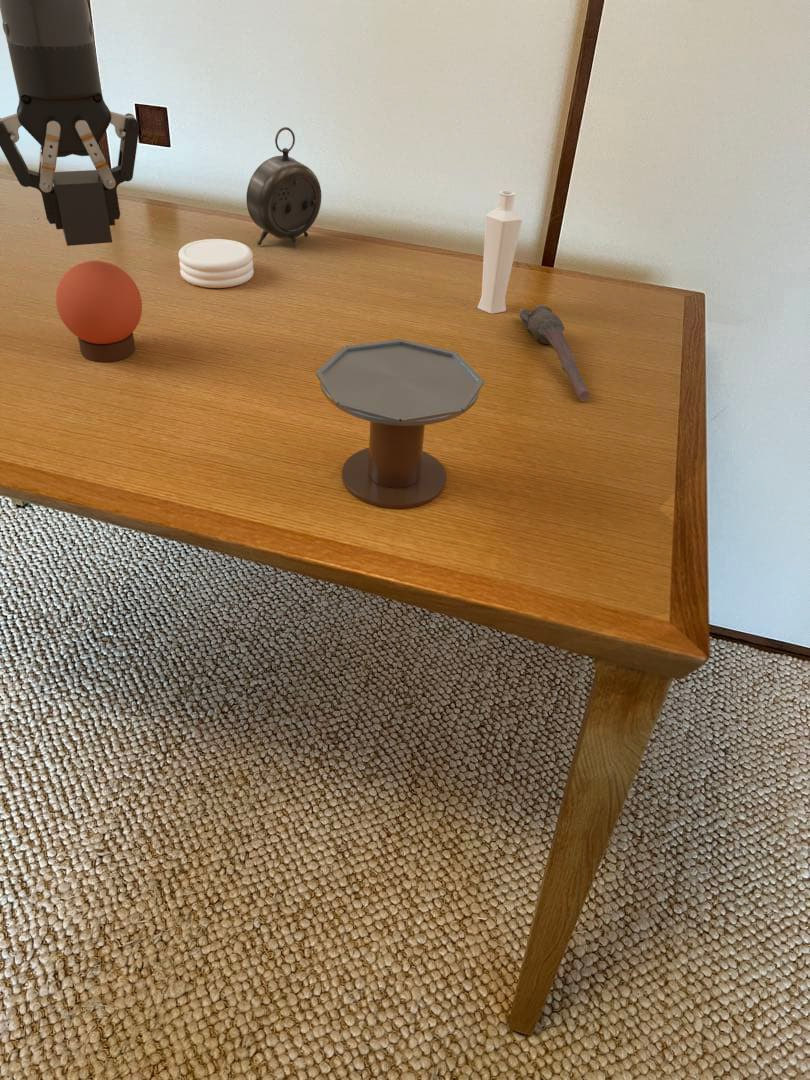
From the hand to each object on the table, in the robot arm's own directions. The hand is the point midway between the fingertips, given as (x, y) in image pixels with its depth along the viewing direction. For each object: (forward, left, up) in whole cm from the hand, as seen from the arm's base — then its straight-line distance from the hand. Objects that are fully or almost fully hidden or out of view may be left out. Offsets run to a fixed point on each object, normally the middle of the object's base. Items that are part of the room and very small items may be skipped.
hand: (84, 224), depth 85 cm
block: (0, 0, -1) cm, 1 cm away
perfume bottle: (+50, -1, -15) cm, 52 cm away
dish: (+22, -34, -14) cm, 43 cm away
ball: (0, 0, -14) cm, 14 cm away
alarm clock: (+30, +29, -15) cm, 44 cm away
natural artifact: (+50, -16, -15) cm, 54 cm away
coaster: (+17, +19, -15) cm, 29 cm away
